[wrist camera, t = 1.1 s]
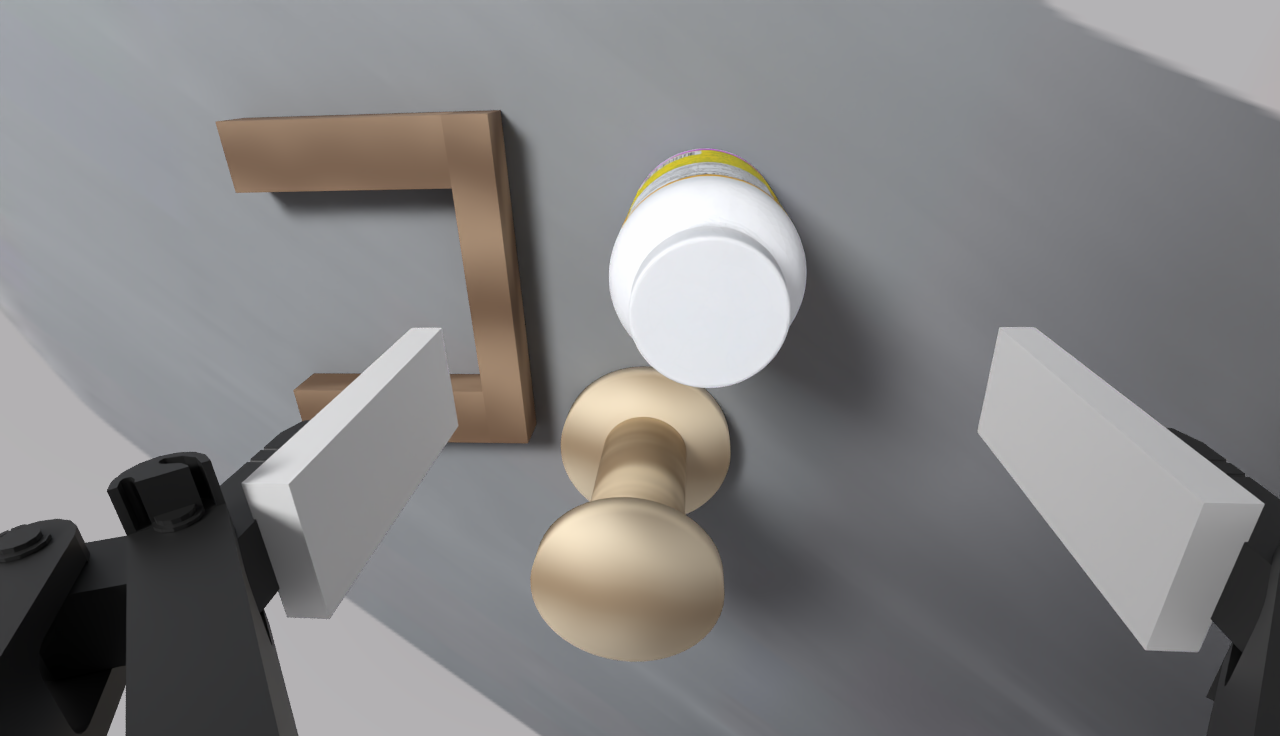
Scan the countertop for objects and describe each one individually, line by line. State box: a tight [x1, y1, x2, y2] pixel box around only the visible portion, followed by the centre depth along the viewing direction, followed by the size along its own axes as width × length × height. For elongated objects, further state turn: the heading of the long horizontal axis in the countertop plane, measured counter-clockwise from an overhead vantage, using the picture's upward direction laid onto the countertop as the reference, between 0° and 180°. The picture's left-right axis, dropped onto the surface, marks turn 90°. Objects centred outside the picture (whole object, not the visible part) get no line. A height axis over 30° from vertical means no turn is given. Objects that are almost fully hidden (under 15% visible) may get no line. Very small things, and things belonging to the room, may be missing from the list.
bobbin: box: [531, 366, 731, 662], centre depth 31 cm, size 9×9×11 cm
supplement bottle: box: [609, 148, 807, 388], centre depth 24 cm, size 7×7×13 cm
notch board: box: [216, 110, 537, 443], centre depth 32 cm, size 16×12×2 cm
